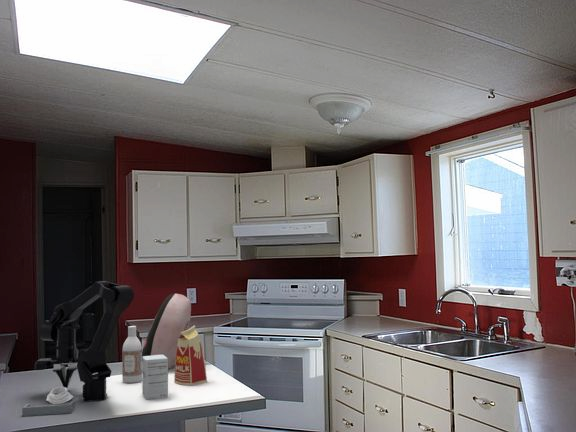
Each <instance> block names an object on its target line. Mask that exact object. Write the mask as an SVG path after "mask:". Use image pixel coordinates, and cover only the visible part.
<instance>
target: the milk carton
mask: <svg viewBox="0 0 576 432" xmlns="http://www.w3.org/2000/svg"><path fill="white" fill-rule="evenodd" d="M201 343H202V342H201V339H200V335H199V332H197V330H196V325H193V326H191V327H189V329H188V330H186V331H184V332H181V336H180V337H179V338H178V344H177V351H176V361H175V364H174V379H173V380H174V381H173V382H174V383H175V384H178V385H181V386H194V385H199V384H203V383H207V382H208V378H207V377H208V376H207V369H206V362H205V357H204V352H203V350H204V349H203V347H202V344H201Z"/></svg>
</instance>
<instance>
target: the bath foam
mask: <svg viewBox="0 0 576 432" xmlns="http://www.w3.org/2000/svg"><path fill="white" fill-rule="evenodd" d="M121 351H122V352H121V353H122V355H121V357H122V359H121V360H122V361H121V362H122V366H121V367H122V368H121V369H122V371H121V373H122V383H124V384H136V383H140V382H142V351H143V347H142V342H141V341H140V339H139V338H138V337H137V325H130V326H127V338H126V339H125V341H124V342H123V345H122V350H121Z"/></svg>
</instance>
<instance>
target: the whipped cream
mask: <svg viewBox="0 0 576 432" xmlns="http://www.w3.org/2000/svg"><path fill="white" fill-rule="evenodd" d="M73 398H74V396H73V394H71V393H70V392H69V391H68V388H66V387H63V385H62V386H61V385H60V386H56V387H54V388H52V389H51V391H50V392H49V393H48V394H47V396H46V400H45V401H46V402H49V403H50V404H51V405H62V404H65V403H67V402H70V401H72V399H73Z"/></svg>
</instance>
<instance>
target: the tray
mask: <svg viewBox="0 0 576 432" xmlns="http://www.w3.org/2000/svg"><path fill="white" fill-rule="evenodd" d="M75 406H76V401H75V399H74V400H70V401H69V403H67V404H65V403H63V404H51V405H36V406H35V405H34V406H32V405H31V402H30V403H26V404H25V405H24V406H23V407H21V415H22V416H21V417H30V416H31V417H33V416H44V415H45V416H46V415H57V414H58V415H59V414H60V415H61V414H72V413H73V411H74V410H75V408H76V407H75Z"/></svg>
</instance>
